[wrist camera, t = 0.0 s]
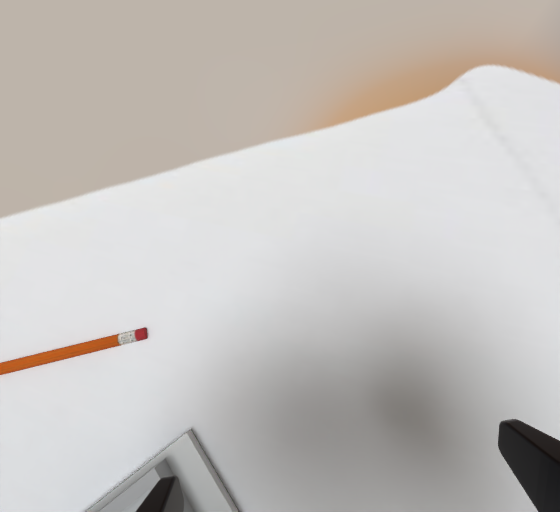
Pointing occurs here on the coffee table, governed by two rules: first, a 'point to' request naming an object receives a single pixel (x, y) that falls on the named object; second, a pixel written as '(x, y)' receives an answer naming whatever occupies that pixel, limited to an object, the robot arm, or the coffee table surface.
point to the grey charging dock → (192, 476)
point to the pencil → (73, 351)
